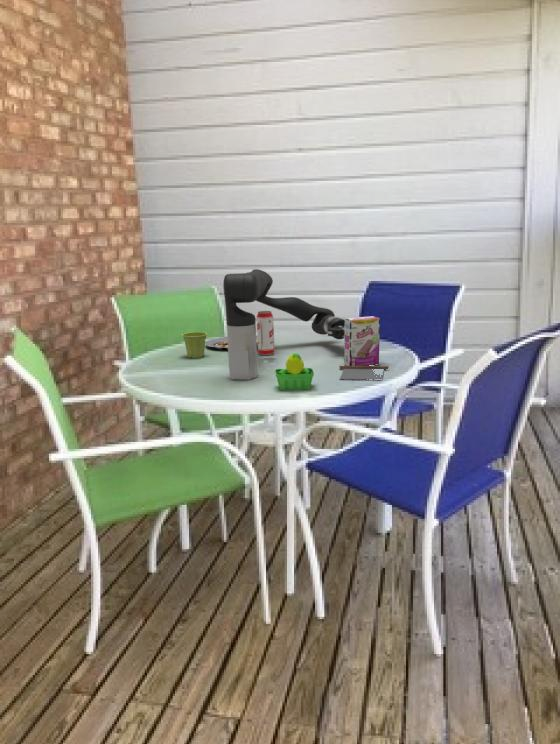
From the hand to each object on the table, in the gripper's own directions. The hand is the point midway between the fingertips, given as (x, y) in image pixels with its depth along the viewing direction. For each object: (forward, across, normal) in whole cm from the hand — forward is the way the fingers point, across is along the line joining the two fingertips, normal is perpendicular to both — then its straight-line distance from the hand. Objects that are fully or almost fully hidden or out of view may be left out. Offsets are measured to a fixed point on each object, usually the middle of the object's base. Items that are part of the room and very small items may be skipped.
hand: (352, 335), depth 227 cm
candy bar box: (+10, 0, -9) cm, 13 cm away
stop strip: (+15, +2, -9) cm, 18 cm away
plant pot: (-29, +52, -9) cm, 60 cm away
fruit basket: (+29, +29, -9) cm, 42 cm away
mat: (+22, +5, -9) cm, 24 cm away
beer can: (-22, +26, -9) cm, 36 cm away
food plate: (-44, +33, -10) cm, 56 cm away
